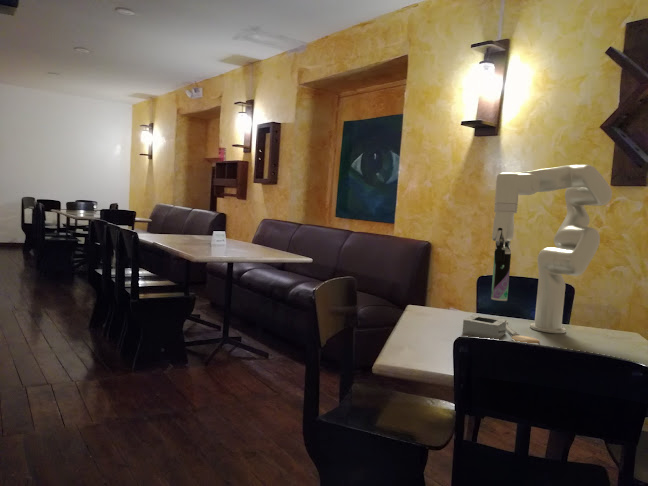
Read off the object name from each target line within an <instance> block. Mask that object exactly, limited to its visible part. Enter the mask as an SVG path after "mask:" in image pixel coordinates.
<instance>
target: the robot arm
mask: <svg viewBox="0 0 648 486" xmlns="http://www.w3.org/2000/svg"><path fill="white" fill-rule="evenodd" d="M495 184H496V185H495V196H494V209H493V213H495V214H494V219H493V224H492V225H493V226H492V232H491V233H492V236H491V240H492V241H494V242H495V247H494V248H495V249H494V252H495V261H502V262H503V261H504V259H505V250H504V247H505V243H506V246H507V248H508V249H509V250H511V241H513V238H514V234H515V233H514V231H515V214H518V206H519V204H518V202H519V196H532V195H535V194H536V193H545V192H554V191H559V190H564V189H565V192H564V200H565V204H566V215H565V218H564V219H563V221H562V223H561V224H560V226H559V228H558V229H557V231H556V232H555V234H554V238H553V244H554V245H555V247H554V246H553V247H552V246H550V247H544V248H543V249H541V250H540V251H539V253H538V255H537V269H538V281H537V282H538V283H537V292H536V293H537V294H536V304H535V316H534V322H532V323H529V328H531V329H532V330H535V331H538V332H543V333H549V334H564V333H566V331H567V329H566V328H565V327H564V326H562V324H563V315H564V306H565V297H566V294H565V292H566V282H565V279H564V276H563V275H566V276H573V277H578V276H579V277H580V276H581V275H582V274H584V273H585V271H586V270H587V268H588V267H589V265H590V263H591V261H592V260H593V258H594V256H595V254H596V252H597V250H598V249H599V246H600V244H601V243H600V242H601V236H600V233H599V231H598V230H597V229H595V228H594V227H590V226H589V224H590V222H591V221H590V216H589V214H588V212H587V210H586V207H585V206H593V207H594V206H596V207H597V206H599V207H601V206H602V207H603V206H605V205H607V204H609V203H610V202H611V200H612V197H613V191H612V188H611V186H610V184H609V183H608V182H607V180H606V179H605V178H604V176H603V175H602V174H601V172H600V171H599V170H597V168H596V167H594V166H593V165H591V164H569V165H561V166H555V167H547V168H540V169H534V170H529V171H528V170H527V171H521V172H500V173H498V174H497V176H496V181H495ZM588 226H589V227H588ZM502 243H503V244H502Z"/></svg>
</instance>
